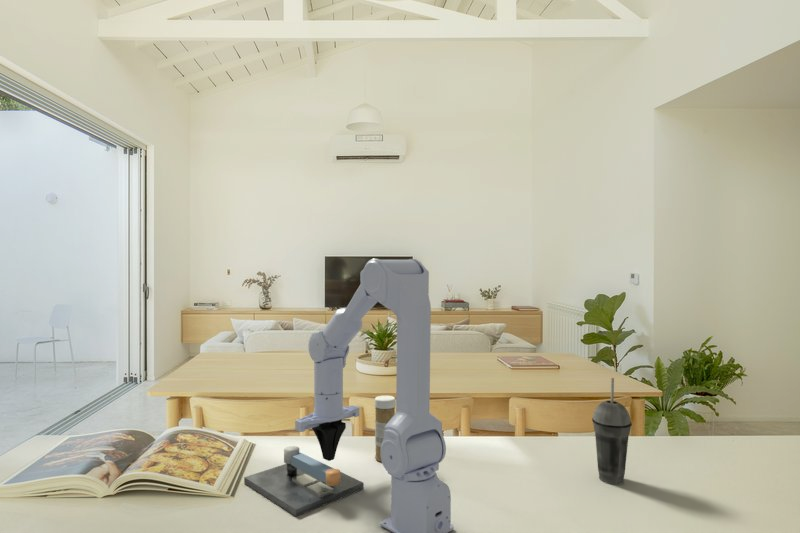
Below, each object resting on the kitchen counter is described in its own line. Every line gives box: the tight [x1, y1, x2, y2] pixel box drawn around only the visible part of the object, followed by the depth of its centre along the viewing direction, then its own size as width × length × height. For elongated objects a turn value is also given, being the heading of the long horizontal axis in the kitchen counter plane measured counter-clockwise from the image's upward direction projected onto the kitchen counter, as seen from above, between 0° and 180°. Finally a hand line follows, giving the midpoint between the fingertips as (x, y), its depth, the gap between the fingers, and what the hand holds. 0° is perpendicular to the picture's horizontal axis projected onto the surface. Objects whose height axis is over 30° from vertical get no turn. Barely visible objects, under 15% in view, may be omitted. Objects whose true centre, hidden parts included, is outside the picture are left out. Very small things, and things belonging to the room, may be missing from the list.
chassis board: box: [243, 463, 364, 517], centre depth 99 cm, size 18×15×3 cm
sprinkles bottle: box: [374, 394, 396, 463], centre depth 113 cm, size 5×5×14 cm
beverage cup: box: [591, 377, 633, 485], centre depth 102 cm, size 7×7×20 cm
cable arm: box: [283, 445, 341, 486], centre depth 97 cm, size 16×3×2 cm, turn 45°
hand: (328, 458), depth 104 cm, fingers closed
